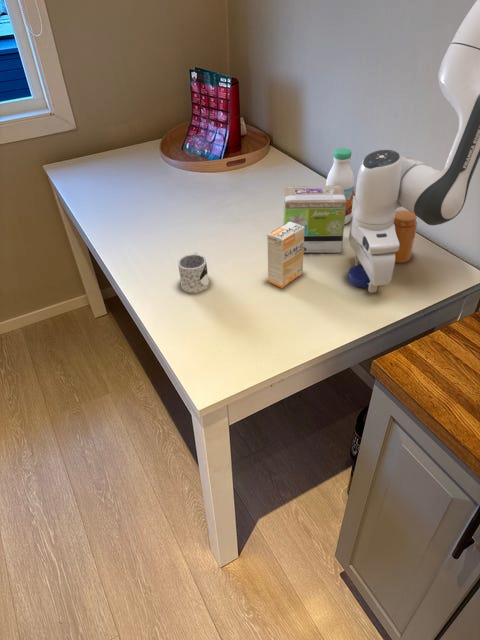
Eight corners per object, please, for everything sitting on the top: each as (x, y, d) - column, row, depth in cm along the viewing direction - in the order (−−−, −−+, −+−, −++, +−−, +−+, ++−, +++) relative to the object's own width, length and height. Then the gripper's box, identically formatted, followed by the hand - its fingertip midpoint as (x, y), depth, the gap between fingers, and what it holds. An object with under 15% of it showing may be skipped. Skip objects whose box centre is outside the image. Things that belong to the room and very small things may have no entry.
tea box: (283, 254, 126) (284, 202, 117) (283, 235, 134) (283, 185, 125) (342, 253, 125) (347, 200, 116) (338, 234, 133) (342, 183, 124)
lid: (376, 273, 117) (378, 265, 116) (376, 289, 112) (378, 281, 111) (348, 271, 119) (349, 263, 117) (347, 286, 114) (347, 279, 112)
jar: (405, 248, 126) (412, 208, 119) (414, 261, 121) (422, 220, 114) (380, 250, 125) (386, 210, 118) (389, 263, 120) (396, 222, 113)
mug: (207, 292, 115) (205, 268, 111) (180, 293, 115) (176, 269, 111) (210, 269, 123) (208, 246, 119) (184, 270, 123) (181, 247, 119)
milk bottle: (332, 228, 136) (337, 157, 124) (319, 217, 142) (322, 148, 129) (356, 222, 138) (363, 152, 125) (342, 211, 144) (347, 143, 131)
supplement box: (282, 289, 114) (283, 240, 106) (267, 282, 117) (266, 234, 109) (304, 274, 119) (305, 226, 111) (288, 267, 121) (289, 220, 113)
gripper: (345, 207, 115) (340, 258, 123) (372, 251, 99) (365, 305, 107) (371, 205, 115) (364, 255, 124) (402, 248, 99) (393, 302, 108)
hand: (365, 279), depth 115 cm, fingers open, 8 cm apart
